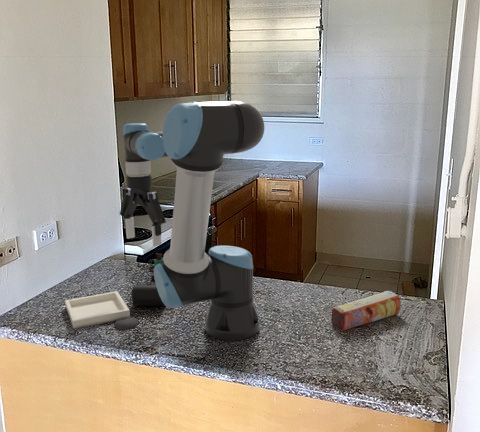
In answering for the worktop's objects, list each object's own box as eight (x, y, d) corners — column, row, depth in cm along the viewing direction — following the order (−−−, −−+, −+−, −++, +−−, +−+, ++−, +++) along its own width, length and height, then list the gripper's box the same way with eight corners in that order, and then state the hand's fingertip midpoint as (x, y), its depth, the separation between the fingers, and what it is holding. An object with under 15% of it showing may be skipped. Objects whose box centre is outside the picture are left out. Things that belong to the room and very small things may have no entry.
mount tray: (129, 317, 154) (129, 310, 153) (73, 328, 147) (72, 321, 147) (117, 298, 168) (117, 291, 167) (65, 307, 161) (65, 300, 161)
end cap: (132, 310, 159) (131, 289, 157) (136, 301, 166) (135, 281, 164) (165, 309, 159) (164, 288, 157) (168, 300, 166) (167, 280, 164)
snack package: (344, 334, 142) (344, 311, 140) (328, 325, 148) (329, 302, 146) (401, 316, 152) (402, 295, 150) (384, 308, 158) (386, 287, 156)
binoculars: (163, 246, 189) (178, 249, 181) (166, 274, 190) (181, 279, 183) (141, 251, 183) (156, 255, 175) (145, 280, 185) (159, 285, 177)
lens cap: (140, 327, 148) (140, 324, 148) (117, 332, 146) (117, 329, 145) (134, 319, 154) (134, 315, 154) (112, 323, 151) (112, 320, 151)
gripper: (174, 176, 154) (178, 245, 159) (125, 169, 171) (130, 232, 176) (154, 180, 149) (159, 251, 154) (105, 172, 166) (110, 237, 171)
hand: (143, 241), depth 165 cm, fingers open, 13 cm apart
